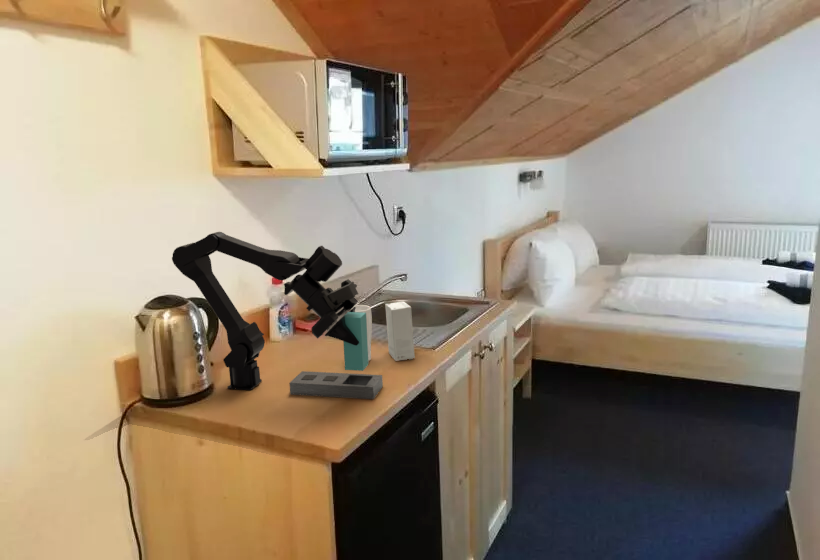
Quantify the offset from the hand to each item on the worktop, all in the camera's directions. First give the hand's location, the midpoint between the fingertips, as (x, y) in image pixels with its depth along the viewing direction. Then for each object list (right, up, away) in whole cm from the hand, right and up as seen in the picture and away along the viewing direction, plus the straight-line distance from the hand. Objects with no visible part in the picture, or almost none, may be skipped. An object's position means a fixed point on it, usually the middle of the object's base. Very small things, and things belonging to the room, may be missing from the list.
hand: (360, 341), depth 152 cm
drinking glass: (-2, -8, +25) cm, 27 cm away
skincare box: (+9, -7, +28) cm, 30 cm away
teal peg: (-1, -6, +2) cm, 7 cm away
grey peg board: (-6, -12, +4) cm, 15 cm away
